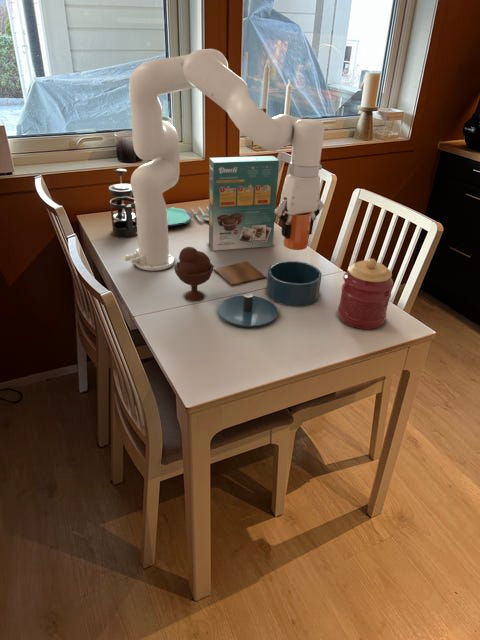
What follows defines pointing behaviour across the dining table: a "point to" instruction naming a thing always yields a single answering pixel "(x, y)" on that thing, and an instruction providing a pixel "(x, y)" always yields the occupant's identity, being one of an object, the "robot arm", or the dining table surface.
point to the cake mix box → (242, 201)
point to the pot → (293, 283)
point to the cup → (299, 232)
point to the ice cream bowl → (193, 271)
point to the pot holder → (239, 273)
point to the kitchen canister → (365, 294)
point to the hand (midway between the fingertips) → (296, 234)
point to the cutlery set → (182, 216)
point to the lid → (247, 310)
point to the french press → (123, 219)
